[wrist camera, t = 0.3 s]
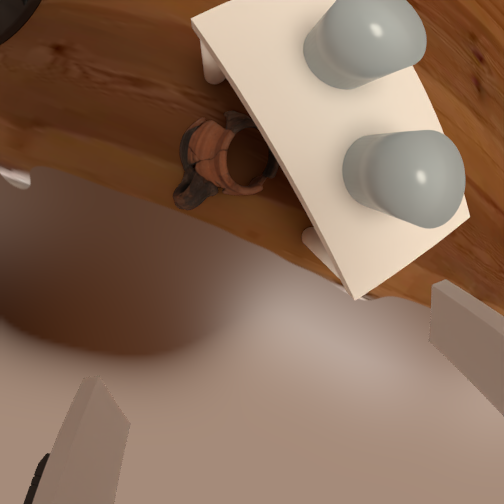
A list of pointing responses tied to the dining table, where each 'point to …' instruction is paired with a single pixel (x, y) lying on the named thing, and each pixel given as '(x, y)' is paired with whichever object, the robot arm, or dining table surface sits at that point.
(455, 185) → the tumbler
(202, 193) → the pottery mug
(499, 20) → the dining table surface
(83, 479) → the robot arm
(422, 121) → the side counter
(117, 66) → the dining table surface
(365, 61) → the grey domed cylinder
